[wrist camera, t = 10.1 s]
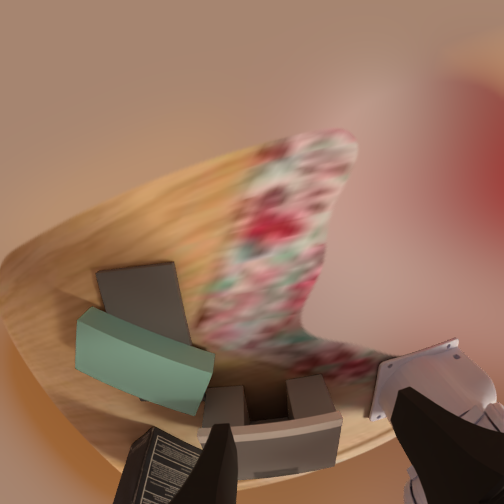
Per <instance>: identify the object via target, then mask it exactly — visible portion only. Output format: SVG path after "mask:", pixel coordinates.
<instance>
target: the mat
mask: <svg viewBox="0 0 504 504" xmlns="http://www.w3.org/2000/svg"><path fill="white" fill-rule="evenodd" d="M95 274H96V278H97V281H98V285H99V289H100V292H101V296H102V299H103V303H104V306H105V309H106V313H108V314H110V315H112V316H115V317H117V318H119V319H122V320H124V321H126V322H129V323H131V324H134V325H136V326H139V327H141V328H144V329H146V330H149V331H151V332H154V333H156V334H159V335H162V336H164V337H167V338H170V339H172V340H175V341H178V342H181V343H184V344H187V345H189V346H192V347H193V345H192V341H191V337H190V333H189V329H188V325H187V321H186V317H185V312H184V308H183V303H182V299H181V294H180V289H179V285H178V280H177V275H176V270H175V264H174V262H168V263H160V264H152V265H143V266H135V267H127V268H119V269H111V270H102V271H98V272H97V273H95ZM139 399H140V401H147V400H144V399H142V398H139ZM205 400H206V393H204V396H203V398H202V400H201V401H205Z"/></svg>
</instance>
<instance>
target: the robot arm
mask: <svg viewBox="0 0 504 504" xmlns="http://www.w3.org/2000/svg"><path fill="white" fill-rule="evenodd" d="M458 343H459V340H458V338H453V339H450V340H447V341H445V342H442V343H439V344H437V345H434V346H431V347H428V348H425V349H422V350H419V351H416V352H413V353H410V354H407V355H404V356H400V357H397V358H394V359H390V360H387V361H384V362H382V363H381V364H380V365H379V369H378V375H377V381H376V386H375V392H374V397H373V402H372V406H371V411H370V415H369V419H370V421H376V420H379V419H382V418H385V417H387V419H388V421H389V422H390V424H391V426H392V428H393V429H394V431H395V434H396V436H397V438H398V440H399V442H400V444H401V445H402V447H403V449H404V451H405V453H406V455H407V456H408V458H409V460H410V462H411V464H412V465H411V466H410V467H409V468H408V469H407V472H408V474H409V476H410V479H409V480H408V481H407V482H406V484H405V487H404V502H405V504H504V406H503V405H502V404H500V403H499V402H497V403H496V390H495V387H494V384H493V382H492V380H491V378H490V377H489V376H488V375H487V373H486V372H484V371H483V370H482V369H481V368H480V367H479V366H478V365H477V364H476V363H475V362H474V361H473V360H471V359H470V358H469V357H468V356H467V355H466V354H465V353H464V352H462V351H461V350H460V349H459V348H458V347H457V346H458ZM389 364H390V365H389ZM388 365H389V366H388ZM237 481H238V457H237V448H236V445H235V441H234V438H233V434H232V431H231V427H230V424H229V423H223V424H214V425H213V426H212V428H211V431H210V434H209V436H208V439H207V441H206V444H205V446H204V448H203V450H202V452H201V454H200V456H199V458H198V460H197V462H196V464H195V466H194V468H193V469H192V471H191V473H190V474H189V476H188V477H187V479H186V481H185V482H184V484H183V485H182V487H181V488H180V489H179V491H178V492H177V493H176V495H175V496H174V497H173V498H172V500H171V501H170V502H169V503H168V504H236V495H237Z"/></svg>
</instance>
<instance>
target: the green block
mask: <svg viewBox="0 0 504 504" xmlns="http://www.w3.org/2000/svg"><path fill="white" fill-rule="evenodd" d="M214 359H215V354H214V353H211V352H208V351H204V350H201V349H198V348H195V347H192V346H189V345H187V344H184V343H181V342H178V341H175V340H172V339H170V338H167V337H164V336H162V335H159V334H156V333H154V332H151V331H149V330H146V329H144V328H141V327H139V326H136V325H134V324H131V323H129V322H126V321H124V320H122V319H119V318H117V317H115V316H112V315H110V314H108V313H106V312H104V311H101V310H99V309H97V308H95V307H93V306H92V307H90V308H89V309H88V310H87V311H86V312H85V313H84V314H83V315H82V316H81V317H80V318H79V319H78V320H77V331H76V356H75V369H77V370H79V371H81V372H83V373H85V374H87V375H89V376H91V377H93V378H95V379H97V380H99V381H101V382H104V383H106V384H108V385H110V386H112V387H115V388H117V389H119V390H122V391H124V392H127V393H129V394H131V395H134V396H137V397H139V398H142V399H144V400H147V401H150V402H152V403H155V404H158V405H161V406H164V407H167V408H170V409H173V410H176V411H179V412H182V413H186V414H189V415H192V416H195V415H196V412H197V410H198V408H199V405H200V403H201V400H202V398H203V396H204V393H205V391H206V388H207V386H208V384H209V381H210V379H211V376H212V374H213V367H214Z"/></svg>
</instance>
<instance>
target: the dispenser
mask: <svg viewBox="0 0 504 504" xmlns="http://www.w3.org/2000/svg"><path fill="white" fill-rule="evenodd" d="M286 391H287V406H288V417H284V418H277V419H269V420H260V421H251V422H250V419H249V414H248V408H247V403H246V398H245V393H244V388H243V385H241V386H230V387H216V388H207V392H206V400H205V407H204V415H203V422H202V428H198V433H197V438H198V440H199V442H200V443H201V446H202V448H204V446H205V444H206V441H207V439H208V436H209V434H210V431H211V428H212V426H213V425H214V424H223V423H229V424H230V427H231V431H232V434H233V438H234V441H235V445H236V448H237V457H238V480H247V479H260V478H270V477H278V476H286V475H292V474H299V473H304V472H310V471H315V470H320V469H325V468H329V467H333V466H335V461H336V456H337V450H338V444H339V438H340V432H341V426H342V422H343V417H342V415H341V412H340V411H336V409H335V407H334V404H333V402H332V399H331V397H330V394H329V392H328V389H327V387H326V384H325V382H324V379H323V377H322V374H319V375H313V376H308V377H302V378H296V379H290V380H286Z"/></svg>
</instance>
